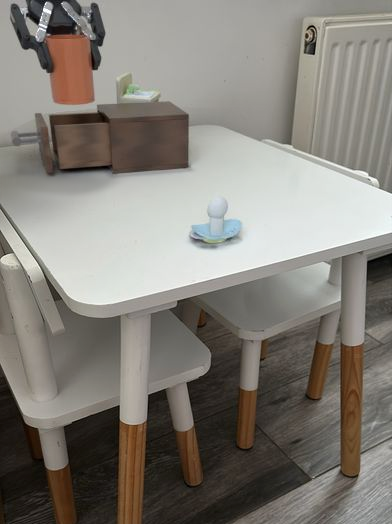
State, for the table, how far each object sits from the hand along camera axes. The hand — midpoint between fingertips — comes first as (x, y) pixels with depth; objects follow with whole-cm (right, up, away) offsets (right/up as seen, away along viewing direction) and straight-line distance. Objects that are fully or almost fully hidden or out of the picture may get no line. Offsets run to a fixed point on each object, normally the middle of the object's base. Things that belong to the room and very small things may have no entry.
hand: (73, 68), depth 85 cm
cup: (-1, -3, +4) cm, 5 cm away
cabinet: (+8, -6, +24) cm, 26 cm away
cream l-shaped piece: (+6, +2, +37) cm, 38 cm away
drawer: (-6, -8, +19) cm, 22 cm away
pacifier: (+21, -28, -7) cm, 35 cm away
